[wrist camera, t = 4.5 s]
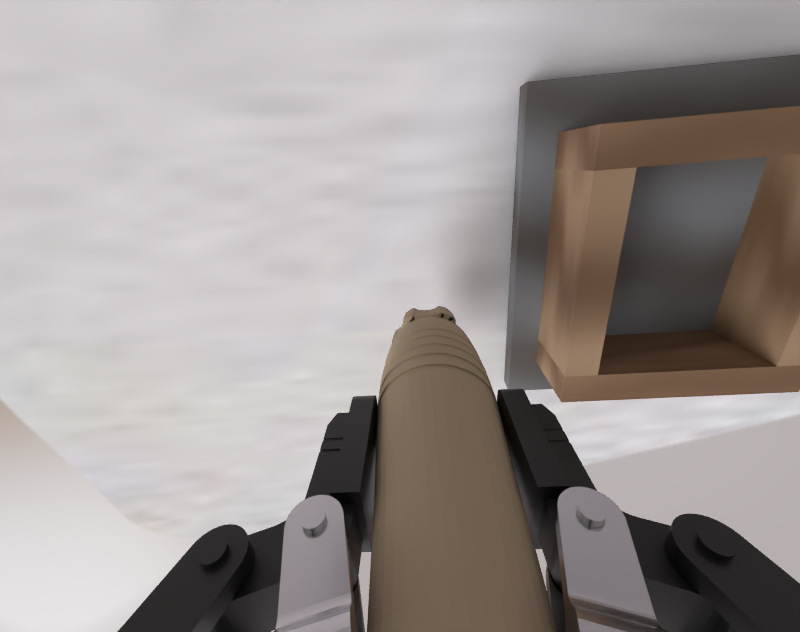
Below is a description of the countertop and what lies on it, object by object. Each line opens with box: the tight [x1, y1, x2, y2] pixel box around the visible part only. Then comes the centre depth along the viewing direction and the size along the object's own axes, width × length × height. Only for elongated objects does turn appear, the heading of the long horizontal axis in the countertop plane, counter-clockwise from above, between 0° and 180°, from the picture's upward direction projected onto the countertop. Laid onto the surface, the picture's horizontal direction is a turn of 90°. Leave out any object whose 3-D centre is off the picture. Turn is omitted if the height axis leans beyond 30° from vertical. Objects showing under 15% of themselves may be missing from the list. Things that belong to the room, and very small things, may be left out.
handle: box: [367, 306, 557, 632], centre depth 10 cm, size 5×6×15 cm
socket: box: [504, 55, 800, 402], centre depth 15 cm, size 15×13×4 cm
